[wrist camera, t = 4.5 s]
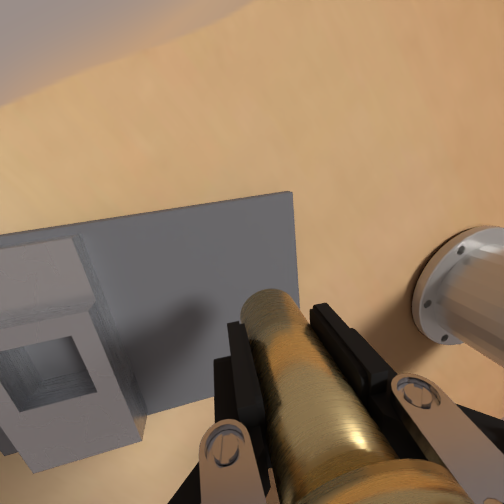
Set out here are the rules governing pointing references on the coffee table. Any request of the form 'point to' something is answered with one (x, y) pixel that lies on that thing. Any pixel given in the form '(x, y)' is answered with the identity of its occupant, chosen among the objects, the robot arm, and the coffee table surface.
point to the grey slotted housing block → (71, 385)
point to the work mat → (176, 288)
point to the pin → (327, 421)
